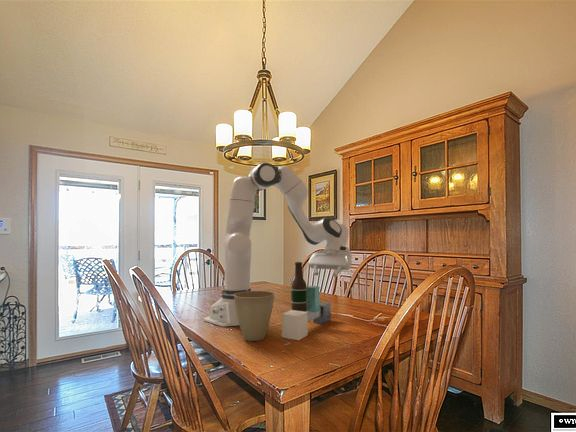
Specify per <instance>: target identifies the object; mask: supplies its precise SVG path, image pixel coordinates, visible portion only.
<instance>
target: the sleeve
mask: <svg viewBox="0 0 576 432" xmlns="http://www.w3.org/2000/svg"><path fill="white" fill-rule="evenodd" d="M319 302H320V307H322V308H323V315H321V316H319V317H317V318H315V319H313V320H312V321H313V323H316V324H321V325H325V324H327V323H329V322H330V321H332V313H331V311H332V310H331V308H332V307H331V306H332V305H331V302H326V301H319Z"/></svg>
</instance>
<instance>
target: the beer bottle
mask: <svg viewBox="0 0 576 432" xmlns="http://www.w3.org/2000/svg"><path fill="white" fill-rule="evenodd" d="M294 265H295V266H294V267H295V269H294V278H293V280H292V282H291V284H290V285H291V287H290V295H291V296H290V299H291V300H290V303H291V305H290V307H291V309H290V310H296V311H304V312H306V311H307V307H306V287H308V286H307V283H306V281H305V279H304V276H303V266H302V265H303V262H302V261H295V262H294Z"/></svg>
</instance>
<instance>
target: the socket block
mask: <svg viewBox="0 0 576 432" xmlns="http://www.w3.org/2000/svg"><path fill="white" fill-rule="evenodd" d="M308 323H309V322H308V317H307V312H304V311H296V310H292V309H290V310H288V311H285V312H283V313H281V338H284V339H290V340H295V341H300V340H301V339H303V338H306V337H307V336H308V335H309V334H308V333H309V330H308V329H309V328H308V325H309V324H308Z"/></svg>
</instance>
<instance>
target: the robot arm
mask: <svg viewBox="0 0 576 432" xmlns="http://www.w3.org/2000/svg"><path fill="white" fill-rule="evenodd" d="M270 187H276V188H277V190H279V191H280V192H281V194H282V195H283V196H284V198H285V199H286V201H287V209H288V211H289V212H290V214H291V216H292V218H293V219H294V221H295V223H296V224H297V225H298V227H299V229H300V230H301V232H302V233H303V234H302V235H303V237H304V239H305V240H306V241H307V243H308V244H310V245H311V246H312V245H313V246H316V245H318V244H320V243H322V242H324V241H326V242H327V243H326V244H325V247H324V250H323V251H316V252H313V253H312V254H311V256H310V258H309V260H308V266H309V267H310V268H311V269H313V270H314V271H313V275H314V276H319V274H320V272H319V269H320V270H334V271H333V272H332V273H333V274H332V275H333V277H334V278H335V277H336V278H337V277H338V276H339V274H341V272H342V271H349V270H351V268H352V263H353V256H352V255H353V254H352V252H351V250H350V248H349V247H348V246H346V245H347V243H348V240H349V239H348V238H349V228H348V227H347V226H346V225H345V224H343V223H338V221H336V220H335V219H334V218H332V217H329V216H328V217H324V218H322V219H320V220H318V221H316V222H315V223H312V222H311V221H310V220H309V218H308V217H307V215H306V214H305V212H304V210H303V205H304V204H305V202H306V200H307V199H308V194H309V193H308V189H309V188H308V187H307V186H306V184H305V183H304V181H303V180H302V178H300V176H299V174H297V173H296V171H294V170H293V169H291V168H290V167H289V166H287V165H280V166H276V165H274V164H272V163H269V162H262V163H259V164H258V165H256V166H255V167H254V168H252V170H251V171H249V173H248V175H247V176H238V177H237V178H235V179H234V180H233V182H232V185H231V189H230V193H229V200H228V209H227V220H226V225H225V226H226V227H225V233H224V234H225V236H224V243H223V244H224V245H223V247H224V251H225V252H224V256H225V257H224V289H222V290H221V291H219V294H221V297H220V298H219V299H218V300H217V301H216V302H214V303H213V304H212V305H211V306H210V310H209V315H208V316H205V318H203V322H207V323H210V324H213V325H217V326H220V327H222V328H223V327H224V328H225V327H232V326H233V327H234V326H235V327H236V326H240V325H239V321H238V317H237V313H236V307H235V300H234V294H235V293H239V292H246V291H252V288H251V264H252V263H251V261H252V240H251V238H250V235H251V229H252V223H253V218H254V207H255V195H256V192H259V191H264V190H266V189H269V188H270Z"/></svg>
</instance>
